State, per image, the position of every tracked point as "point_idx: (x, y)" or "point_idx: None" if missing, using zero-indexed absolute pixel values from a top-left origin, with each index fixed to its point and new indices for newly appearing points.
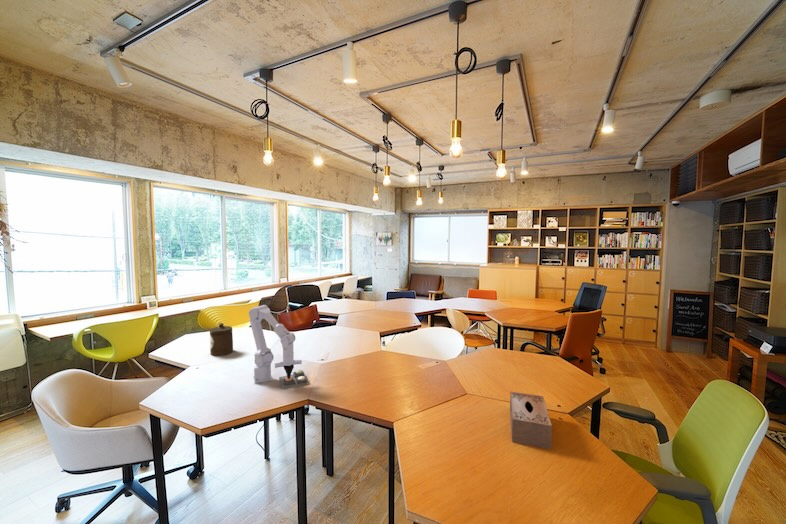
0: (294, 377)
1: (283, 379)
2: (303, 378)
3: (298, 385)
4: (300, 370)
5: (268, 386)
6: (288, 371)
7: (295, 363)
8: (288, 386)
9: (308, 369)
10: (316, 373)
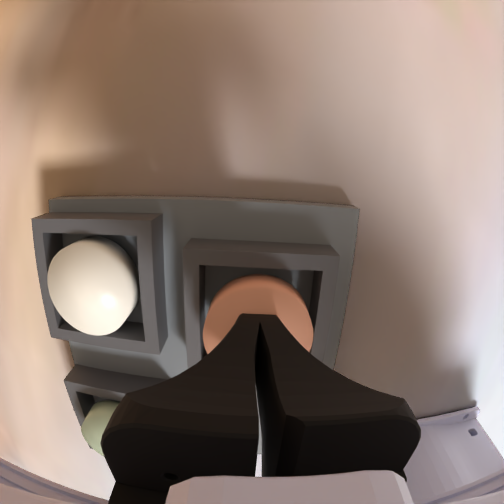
0: None
1: None
2: (63, 249)
3: (153, 196)
4: (100, 445)
5: (440, 333)
6: (278, 374)
7: (19, 492)
8: (281, 203)
9: (74, 460)
10: (11, 378)
